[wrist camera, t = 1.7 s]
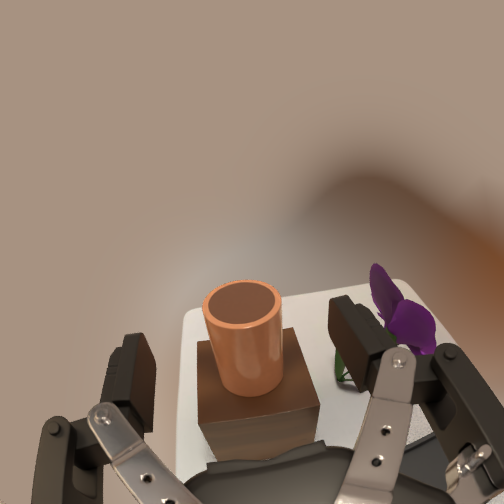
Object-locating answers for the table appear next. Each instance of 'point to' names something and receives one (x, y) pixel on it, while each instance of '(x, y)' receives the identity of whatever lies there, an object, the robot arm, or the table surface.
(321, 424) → the table surface
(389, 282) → the flower
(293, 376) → the block
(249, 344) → the cup
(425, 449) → the tray
